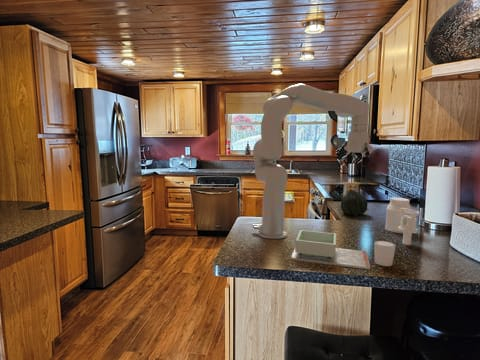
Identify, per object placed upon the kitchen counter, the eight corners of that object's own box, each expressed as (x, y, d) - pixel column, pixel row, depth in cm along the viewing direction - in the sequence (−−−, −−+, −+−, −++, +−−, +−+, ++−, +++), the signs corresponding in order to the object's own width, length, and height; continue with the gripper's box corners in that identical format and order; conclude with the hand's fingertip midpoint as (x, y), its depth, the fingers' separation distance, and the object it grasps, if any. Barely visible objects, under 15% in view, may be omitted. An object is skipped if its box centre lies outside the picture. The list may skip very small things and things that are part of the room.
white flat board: (290, 259, 111) (291, 257, 111) (296, 245, 126) (296, 243, 126) (370, 269, 103) (370, 267, 103) (366, 253, 118) (366, 251, 118)
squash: (377, 207, 175) (364, 185, 182) (357, 210, 169) (344, 187, 176) (361, 219, 186) (349, 198, 193) (342, 223, 179) (331, 200, 187)
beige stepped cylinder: (393, 241, 134) (396, 206, 132) (409, 241, 134) (412, 206, 132) (403, 246, 127) (406, 210, 125) (420, 246, 127) (423, 210, 125)
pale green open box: (294, 255, 112) (295, 240, 111) (299, 243, 124) (300, 229, 124) (334, 260, 108) (335, 244, 107) (335, 247, 120) (336, 233, 120)
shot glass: (385, 268, 105) (386, 248, 104) (368, 261, 111) (369, 241, 110) (398, 264, 108) (400, 245, 107) (381, 258, 114) (383, 239, 113)
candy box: (354, 204, 208) (355, 182, 206) (358, 206, 204) (359, 183, 202) (342, 205, 206) (343, 182, 205) (345, 206, 202) (347, 183, 200)
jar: (389, 225, 159) (391, 196, 157) (410, 229, 153) (413, 198, 151) (383, 230, 150) (385, 199, 148) (405, 234, 144) (408, 202, 142)
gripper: (340, 128, 155) (338, 163, 158) (367, 127, 140) (364, 166, 142) (351, 129, 158) (349, 163, 161) (379, 128, 143) (377, 165, 145)
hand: (356, 164), depth 151 cm, fingers open, 9 cm apart
